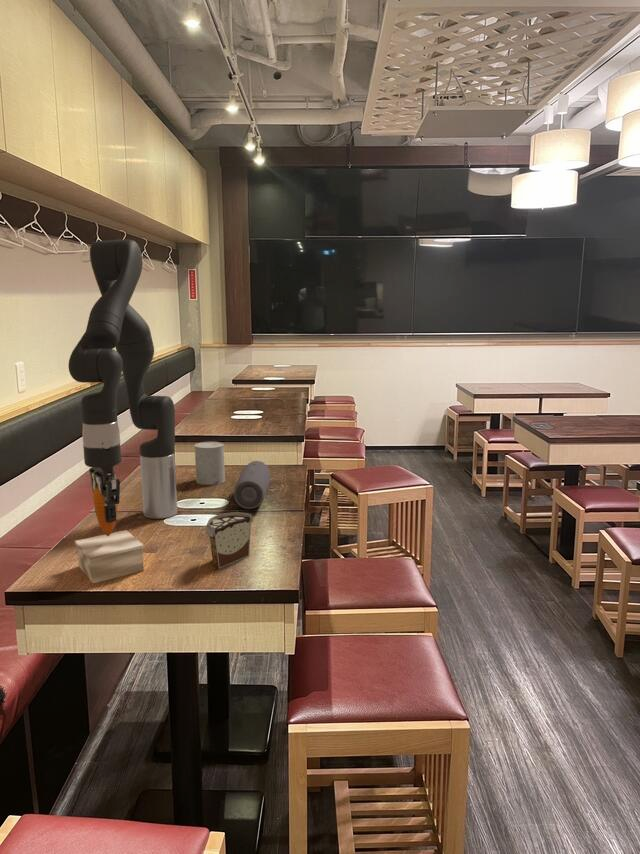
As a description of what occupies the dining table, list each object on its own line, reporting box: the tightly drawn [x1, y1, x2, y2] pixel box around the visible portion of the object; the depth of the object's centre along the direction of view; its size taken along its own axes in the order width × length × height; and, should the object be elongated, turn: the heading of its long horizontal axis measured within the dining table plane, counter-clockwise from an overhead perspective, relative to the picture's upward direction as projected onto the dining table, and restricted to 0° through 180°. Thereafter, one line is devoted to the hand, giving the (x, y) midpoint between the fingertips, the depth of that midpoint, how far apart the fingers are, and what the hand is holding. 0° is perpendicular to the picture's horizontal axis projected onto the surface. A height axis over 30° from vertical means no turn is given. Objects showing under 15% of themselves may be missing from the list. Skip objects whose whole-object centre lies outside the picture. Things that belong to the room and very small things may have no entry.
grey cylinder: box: [194, 441, 226, 486], centre depth 208 cm, size 10×10×12 cm
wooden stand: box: [74, 529, 145, 584], centre depth 140 cm, size 12×12×6 cm
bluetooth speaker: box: [233, 460, 271, 510], centre depth 187 cm, size 23×9×10 cm, turn 0°
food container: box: [205, 511, 254, 570], centre depth 145 cm, size 12×6×10 cm, turn 141°
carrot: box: [92, 474, 119, 536], centre depth 138 cm, size 5×5×15 cm
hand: (107, 518), depth 139 cm, fingers closed on carrot, 4 cm apart
